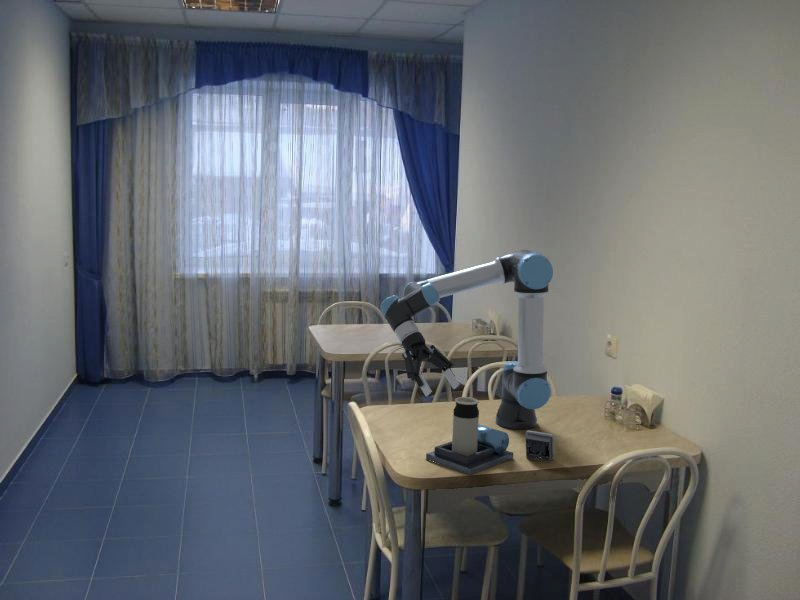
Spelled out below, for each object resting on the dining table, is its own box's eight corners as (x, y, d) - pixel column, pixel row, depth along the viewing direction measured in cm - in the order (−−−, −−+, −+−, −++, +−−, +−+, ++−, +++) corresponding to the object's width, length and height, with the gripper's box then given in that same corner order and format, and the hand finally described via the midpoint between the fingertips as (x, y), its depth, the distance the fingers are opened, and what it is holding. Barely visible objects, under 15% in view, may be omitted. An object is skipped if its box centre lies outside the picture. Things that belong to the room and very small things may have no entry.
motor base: (469, 444, 269) (470, 418, 268) (513, 458, 257) (514, 431, 255) (426, 459, 253) (427, 432, 252) (470, 475, 241) (471, 446, 240)
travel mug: (468, 461, 247) (470, 405, 245) (446, 455, 252) (449, 400, 249) (481, 454, 254) (484, 400, 251) (460, 449, 258) (463, 395, 256)
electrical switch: (555, 459, 258) (556, 432, 255) (551, 465, 253) (551, 438, 251) (526, 454, 261) (527, 428, 259) (522, 460, 257) (523, 433, 255)
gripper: (429, 339, 276) (460, 390, 268) (377, 349, 258) (410, 403, 250) (441, 326, 271) (474, 377, 263) (390, 335, 253) (423, 390, 245)
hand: (443, 390), depth 256 cm, fingers open, 13 cm apart
